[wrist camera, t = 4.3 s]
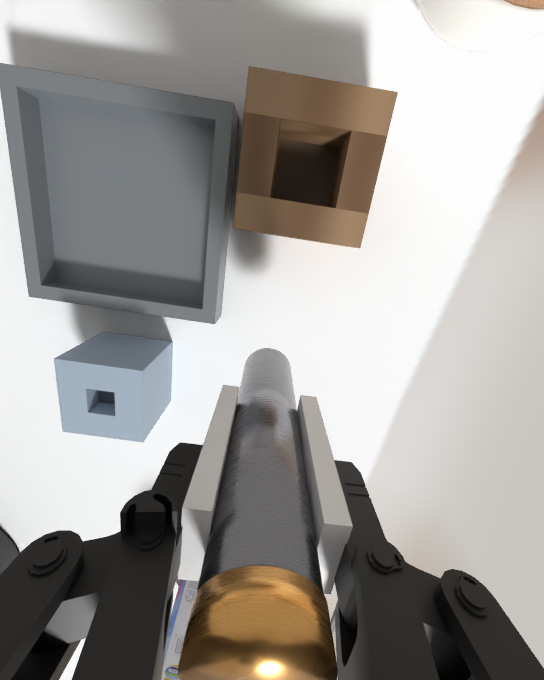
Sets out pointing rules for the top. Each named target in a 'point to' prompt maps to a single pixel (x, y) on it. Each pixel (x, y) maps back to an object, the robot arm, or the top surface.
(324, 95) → the go block
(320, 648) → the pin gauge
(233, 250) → the top surface
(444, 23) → the lidded jar
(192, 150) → the tray
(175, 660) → the ink cartridge box
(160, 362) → the block
